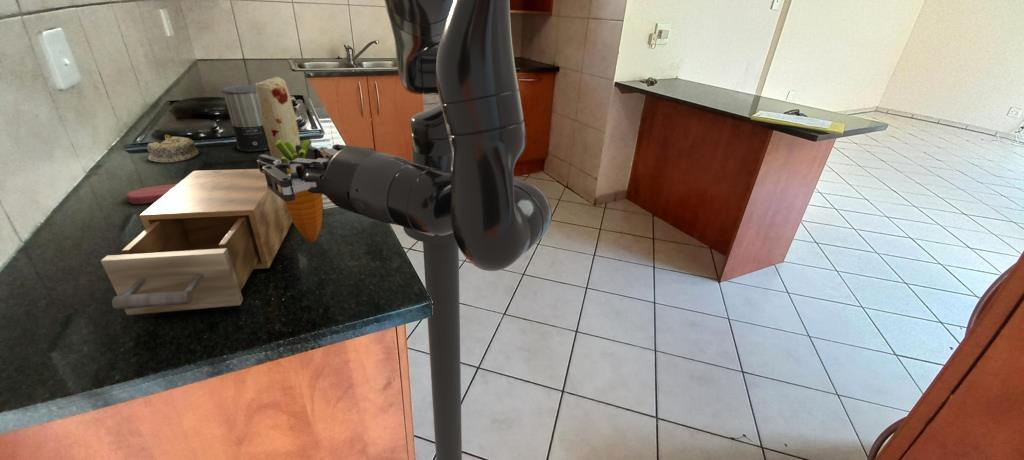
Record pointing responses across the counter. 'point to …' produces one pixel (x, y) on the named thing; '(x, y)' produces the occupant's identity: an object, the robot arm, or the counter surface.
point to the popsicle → (148, 194)
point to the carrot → (303, 198)
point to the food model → (277, 114)
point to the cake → (172, 149)
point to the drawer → (184, 265)
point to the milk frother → (246, 117)
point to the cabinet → (228, 205)
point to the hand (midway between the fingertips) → (281, 157)
